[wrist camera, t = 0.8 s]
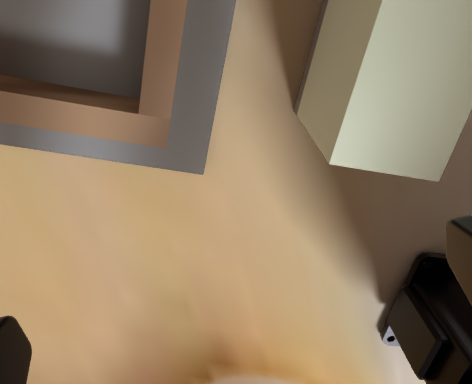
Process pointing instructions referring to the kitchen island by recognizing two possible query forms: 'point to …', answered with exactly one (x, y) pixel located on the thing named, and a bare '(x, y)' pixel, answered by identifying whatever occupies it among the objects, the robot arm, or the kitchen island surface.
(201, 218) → the kitchen island surface
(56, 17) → the socket
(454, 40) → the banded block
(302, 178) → the kitchen island surface
